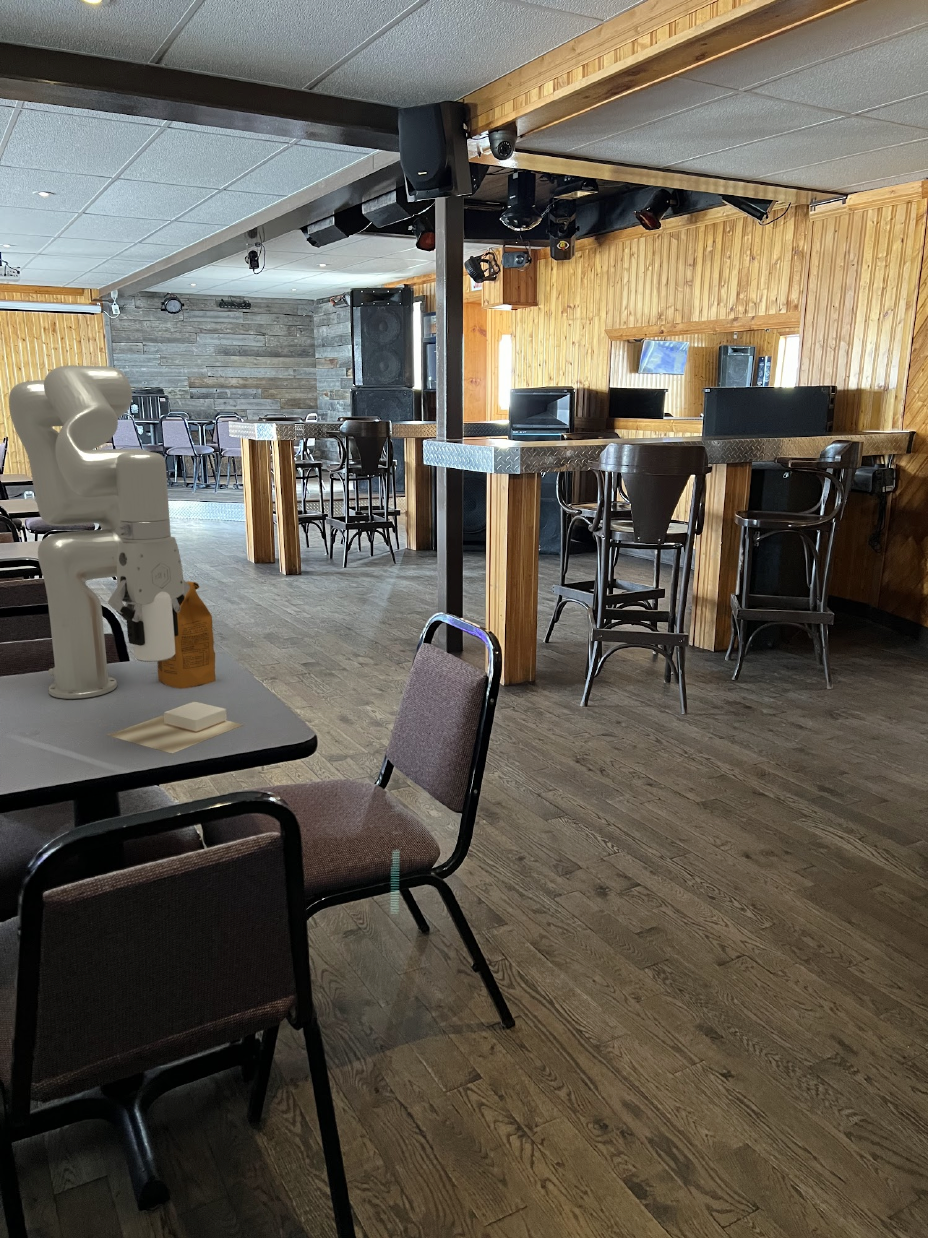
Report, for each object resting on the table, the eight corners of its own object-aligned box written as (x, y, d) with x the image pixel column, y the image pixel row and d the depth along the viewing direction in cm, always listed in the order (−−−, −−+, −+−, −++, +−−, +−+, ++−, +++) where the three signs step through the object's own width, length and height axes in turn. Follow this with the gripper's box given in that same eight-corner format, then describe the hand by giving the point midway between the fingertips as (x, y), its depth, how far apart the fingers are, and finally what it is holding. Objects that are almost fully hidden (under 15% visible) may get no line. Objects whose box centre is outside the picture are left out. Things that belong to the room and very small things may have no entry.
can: (163, 663, 148) (157, 590, 145) (126, 661, 149) (120, 588, 147) (182, 653, 154) (177, 582, 152) (147, 651, 156) (142, 581, 153)
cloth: (107, 740, 157) (107, 735, 156) (180, 714, 170) (180, 709, 170) (172, 759, 148) (172, 753, 148) (244, 730, 162) (243, 724, 162)
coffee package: (197, 672, 196) (190, 570, 191) (222, 686, 187) (216, 579, 182) (151, 681, 190) (142, 576, 185) (175, 695, 181) (167, 585, 176)
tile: (163, 712, 161) (195, 720, 157) (194, 701, 167) (226, 709, 163) (164, 724, 162) (196, 733, 157) (195, 713, 167) (226, 721, 163)
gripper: (115, 539, 138) (125, 654, 142) (203, 526, 152) (209, 631, 157) (83, 535, 142) (94, 648, 146) (172, 523, 156) (179, 626, 160)
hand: (154, 638), depth 151 cm, fingers closed on can, 6 cm apart
